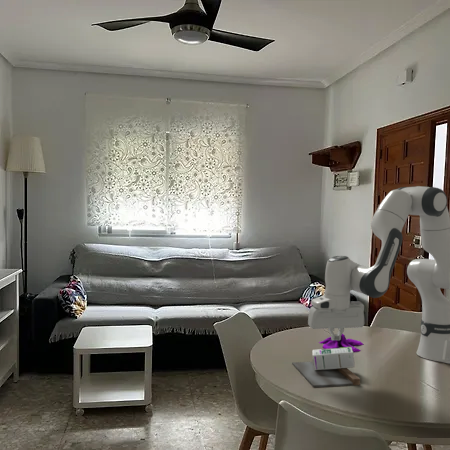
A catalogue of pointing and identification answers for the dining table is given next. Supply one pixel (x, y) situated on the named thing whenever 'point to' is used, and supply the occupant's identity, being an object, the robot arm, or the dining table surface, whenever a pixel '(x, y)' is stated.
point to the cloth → (341, 343)
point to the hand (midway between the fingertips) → (335, 339)
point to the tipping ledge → (326, 375)
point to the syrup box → (333, 358)
